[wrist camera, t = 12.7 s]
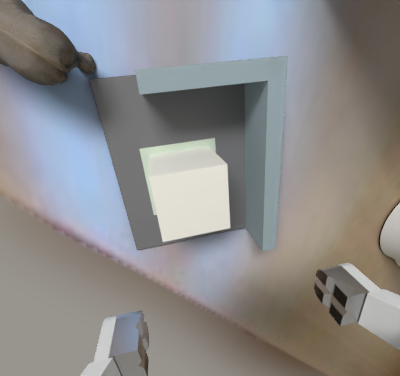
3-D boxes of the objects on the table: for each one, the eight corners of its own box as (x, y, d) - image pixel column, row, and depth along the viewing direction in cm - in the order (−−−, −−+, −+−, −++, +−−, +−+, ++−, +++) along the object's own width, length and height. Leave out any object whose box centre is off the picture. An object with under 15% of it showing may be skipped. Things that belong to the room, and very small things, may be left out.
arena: (257, 63, 20) (287, 55, 16) (255, 223, 28) (275, 248, 24) (90, 79, 18) (70, 76, 14) (137, 247, 26) (134, 280, 21)
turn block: (213, 198, 25) (230, 228, 19) (160, 208, 24) (162, 242, 19) (208, 146, 22) (227, 164, 17) (149, 155, 21) (148, 176, 16)
